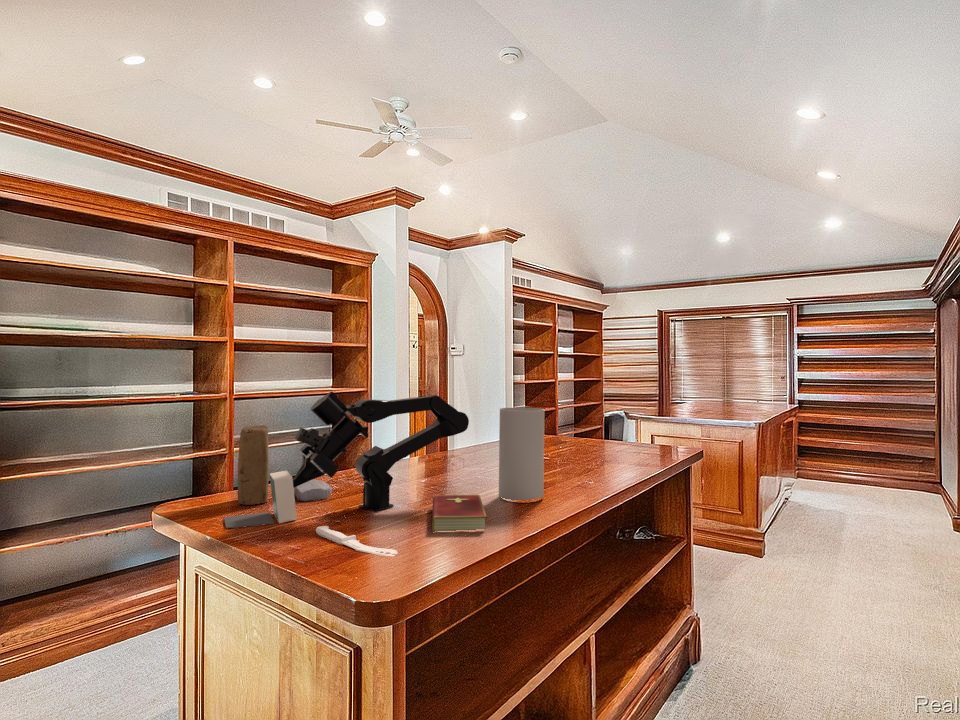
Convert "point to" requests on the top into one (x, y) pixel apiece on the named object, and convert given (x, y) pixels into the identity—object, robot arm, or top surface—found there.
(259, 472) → the block
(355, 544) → the knife
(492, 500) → the top surface
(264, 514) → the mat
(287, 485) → the off-white thick block
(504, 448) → the cylinder vase
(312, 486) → the stone block
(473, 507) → the hardcover book
